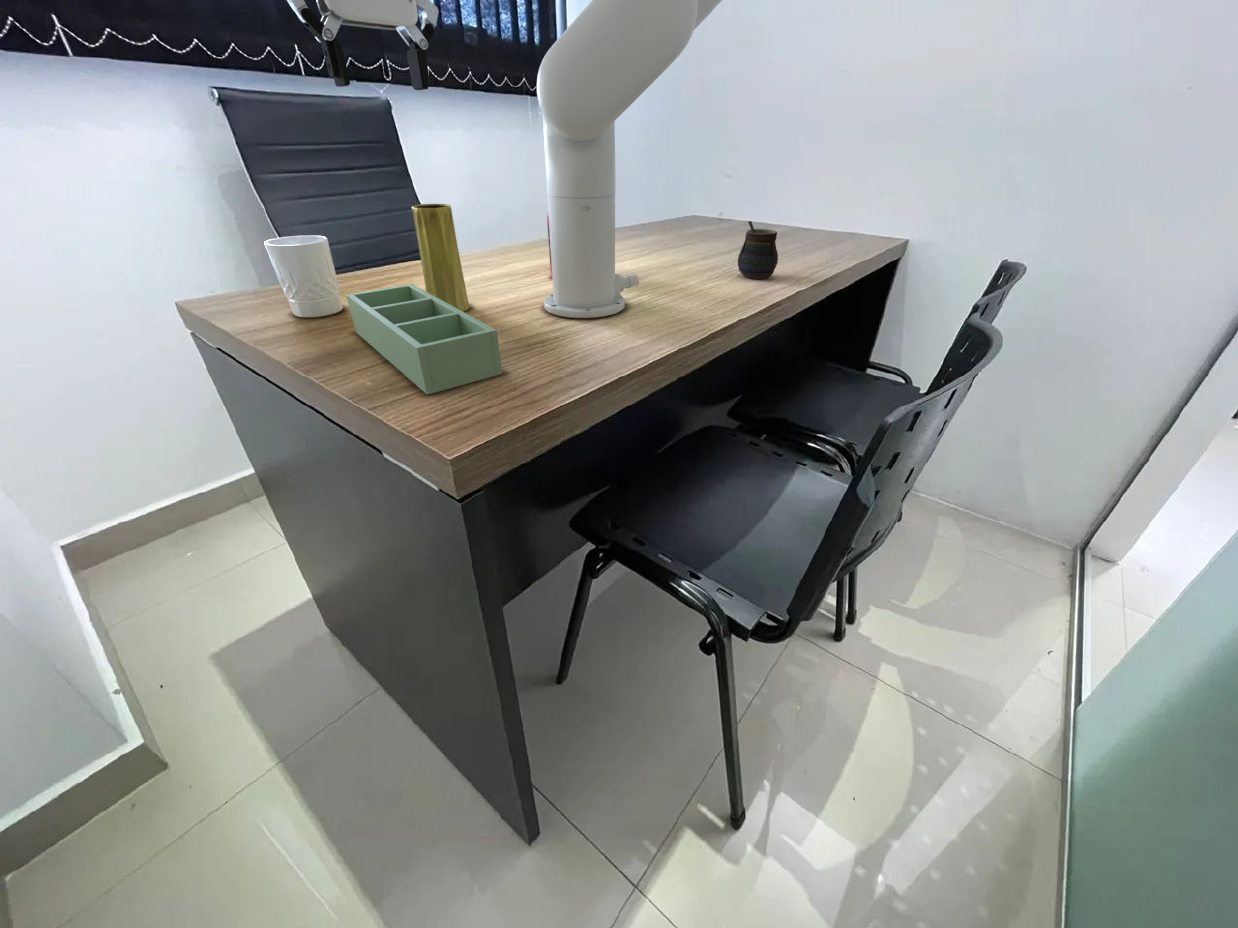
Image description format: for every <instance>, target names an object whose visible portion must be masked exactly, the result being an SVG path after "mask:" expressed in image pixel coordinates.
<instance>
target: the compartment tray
mask: <svg viewBox="0 0 1238 928" xmlns="http://www.w3.org/2000/svg"><path fill="white" fill-rule="evenodd" d="M345 298H346V300H347V304H348V308H349V311H350V314H351V319H352V322H353V325H354V328H355V332H356V334H357V335H359V336H360V337H361V338H362V339H363V340H364V341H366V343H368V344H369V346H371V347H372V348H373V349H375V350H376V351H377V352H378V353H379V354H380V355H381V356H383V357H384V358H385V359H386V360H387V361H388V362H389V363H390V364H391V365H393V367H395V368H396V369H397V370H398V371H400V372H401V373H402V374H403V375H404V376H405V377H406V378H408V379H409V380H410V381H411V382H412V383H413V384H414V385H415V386H416V387H418V389H420V390H421V391H422V392H423V393H424V394H425V395H427V396H428V395H432V394H435V393H438V392H442V391H446V390H449V389H450V390H451V389H452V388H457V387H460V386H465V385H469V384H471V383H475V382H478V381H483V380H485V379H490V378H493V377H497V376H500V375H503V367H502V360H501V352H500V344H499V335H498V330H497V329H496V328H494V327H492V326H490V325H488V324H486V323H484V322H483V321H481V320H479V319H478V318H475V317H474V316H471V315H470V314H468V313H466V312H465V311H463V312H462V311H461V310H459V309H457V308H455V307H453V306H451V305H450V304H448V303H446V302H444V301H442V300H440V299H439V298H437V297H435V296H433V295H431V294H429V293H428V292H426V290H424V289H422V288H420V287H419V286H416V285H415V284H413V283H412V284H405V285H398V286H391V287H385V288H380V289H373V290H367V291H360V292H354V293H348V294H345Z"/></svg>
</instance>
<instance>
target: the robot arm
mask: <svg viewBox="0 0 1238 928" xmlns="http://www.w3.org/2000/svg"><path fill="white" fill-rule="evenodd" d="M286 1H287V3H288V4H289V6H290V7H291V9H292V10H293V12H295V14H296V16H297V19H298V20H299V22H300V23H301V24H302V25H303V26H304V27H305V28H306V29H307V30H308V31H309V32H310V33H311V34H312V35H313V36H314V38H315V39H316V40H317V42H319V43H320V44H321V48H322V51H323V57H324V59H325V64H326V68H327V71H328V75H329V77H330V78H333V81H334V85H335V86H336V87H340V88H341V87H348V86H350V85H351V79H350V75H349V70H348V67H347V62H346V58H345V53H344V50H343V45H342V43H341V42H340V40H339V41H338V40H337V36H336V35H337V33H338V32H339V29H340V27H341V25H343V26H351V27H359V28H367V29H376V30H377V29H378V30H386V31H396V32H397V33H398V34H399V36H400V37H401V38H402V40H403V41H404V42H405V44H406V45H407V46H408V48H409V50H407V52H406V59H407V64H408V70H409V76H410V81H411V87H412V89H414V91H425V90H428V89H429V81H430V74H429V69H428V62H427V56H426V51H425V50H427V49H428V47H429V44H430V42H431V40H432V38H433V37H434V35H435V33H436V30H435V27H436V25H437V21H438V17H439V12H440V11H439V8H438V7H437V6H436V5H435V4H434V3H433V2H432V1H430V0H315V1H316V4H317V7H318V11H319V13H320V15H321V16H322V17H321V19H320V18H319V16H317V15H316V14H315V13H314V12H313V11H312V10H311V9H310V8H309V7H308V5H307V3H306V1H305V0H286ZM722 1H723V0H591V1H590V2H589V3H588V4H587V6H586V7H585V8H584V9H583V10H582V11H581V12H580V13H579V14H578V16H577V17H576V18H575V19H574V20H573V21H572V23H571V24H570V25H569V26H568V27H567V28H566V29H565V30H564V31H563V32H562V33H561V35H560V36H559V37H558V38H557V39H556V40H555V42H554V43H553V44H552V45H551V47H549V49H548V50H547V52H546V53H545V55H544V57H543V58H542V60H541V63H540V65H539V68H538V72H537V78H536V96H537V102H538V104H539V108H540V111H541V117H542V127H543V128H542V129H543V148H544V166H545V181H546V183H545V184H546V198H547V199H546V200H547V212H548V217H549V232H550V248H551V264H552V274H551V278H552V293H551V294H549V295H547V296H546V297H544V299H543V308H544V309H545V311H546V312H548V313H550V314H552V315H555V316H558V317H563V318H570V319H571V318H572V319H595V318H603V317H608V316H612V315H615V314H618V313H619V312H621V311H623V310H624V308H625V306H626V300H625V298H624V296H623V295H621V293H622V292H623V291H624V290H625V289H631V288H637V287H638V286H639V283H640V280H639V277H638V275H637V274H635V273H634V274H629V275H625V276H622V275H621V274H620V273H616V129H615V128H616V125H615V124H616V122H615V121H616V120H617V119H618V118H619V117H620V116H621V115H622V114H623V113H624V112H625V111H626V110H627V109H628V108H629V107H631V105H632V104H633V103H634V102H635V101H636V100H638V99H639V97H640V96H641V95H642V94H643V93H644V92H645V91H646V90H647V89H648V88H650V87H651V85H652V84H653V83H654V82H655V81H656V80H657V79H658V78H659V77H660V76H661V75H662V74H663V73H664V72H665V71H666V70H667V69H668V68H669V67H670V66H671V65H672V64H673V63H674V62H675V61H676V60H677V59H678V57H680V55H681V54H682V53H683V52H684V50H685V49H686V47H687V45H688V44H689V42H690V40H691V38H692V35H693V34H694V31H695V30H696V29H697V28H698V27H699V26H700V25H701V24H702V22H704V21H705V20H706V19H707V18H708V16H710V14H711V13H712V12H713V11H714V10H715V8H716V7H717V6H718V5H719V4H720V3H721V2H722ZM418 11H419V12H420V13H421V15H422V20H421V21H422V22H421V25H420V26H419V27H418V26H417V25H416V24H417V23H418V20H419V18H418V17H419V15H418Z"/></svg>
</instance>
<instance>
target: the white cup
mask: <svg viewBox="0 0 1238 928" xmlns="http://www.w3.org/2000/svg"><path fill="white" fill-rule="evenodd" d="M263 244H264V247H265V249H266V252H267V255H268V257H269V260H270V263H271V265H272V267H273V269H274V272H275V275H276V277H277V280H278V281H279V285H280V287H281V289H282V292H283V294H284V296H285V298H287V302H288V304H289V306H290V310H291V312H292V314H293V315H294V316H295V317H298V318H299V317H300V318H308V319H309V318H321V317H327V316H331V315H335V314H337V313H339V312H341V311H342V310H343V309H344V306H343V301H342V297H341V294H340V287H339V286H340V285H339V282H338V279H337V278H338V277H337V272H336V269H335V264H334V260H333V257H332V256H333V255H332V251H331V247H330V243H329V239H328V238H327V237H326V236H323V235H291V236H281V237H276V238H271V239H268V240H266V241H264V242H263Z"/></svg>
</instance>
